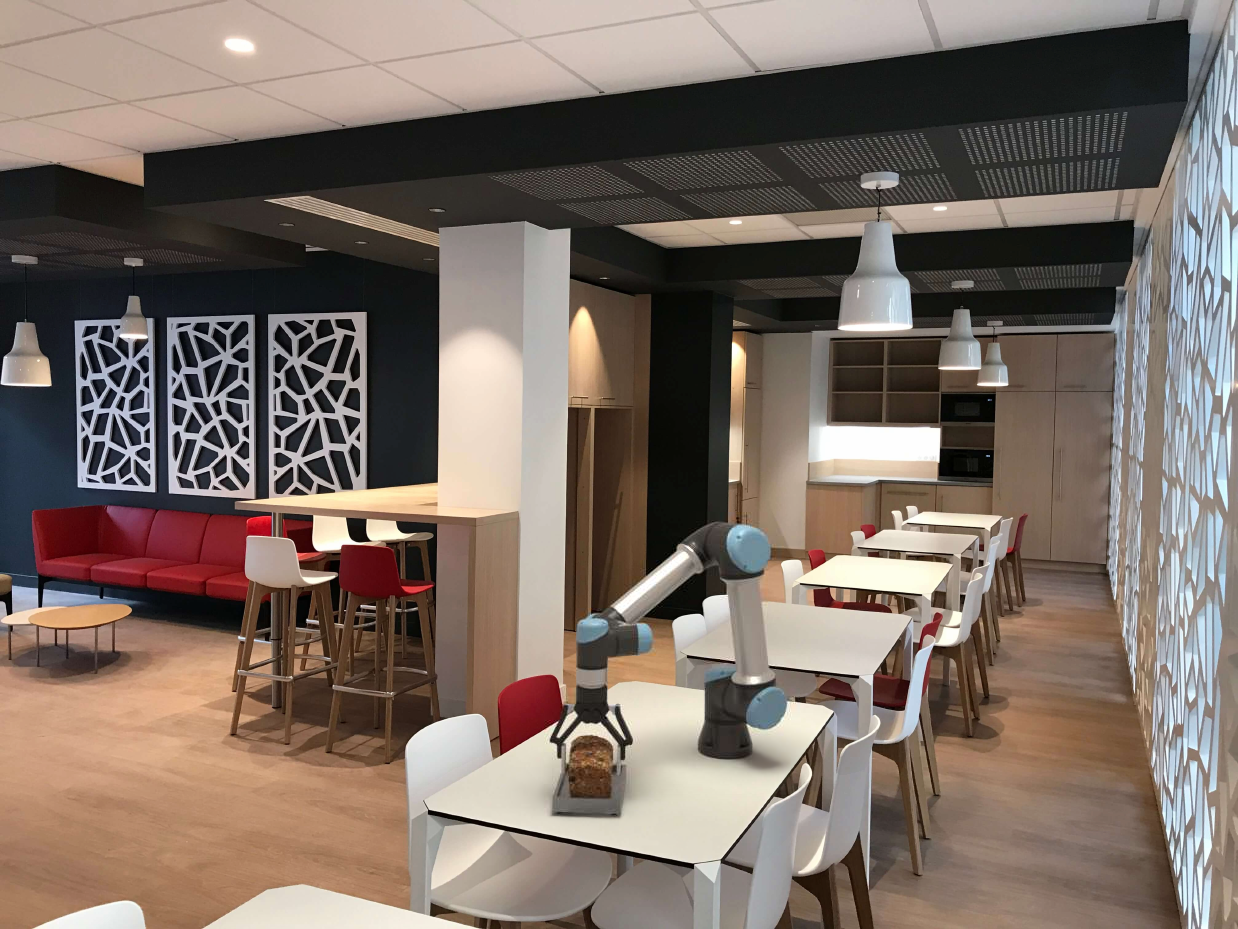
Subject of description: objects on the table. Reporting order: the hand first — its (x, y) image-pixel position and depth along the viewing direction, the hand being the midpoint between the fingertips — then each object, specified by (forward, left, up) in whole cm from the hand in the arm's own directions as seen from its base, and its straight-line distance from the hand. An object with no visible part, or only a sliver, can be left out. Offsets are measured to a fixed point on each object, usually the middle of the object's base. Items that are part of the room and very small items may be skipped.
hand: (591, 772), depth 231 cm
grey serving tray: (0, 0, -6) cm, 6 cm away
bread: (0, 0, -3) cm, 3 cm away
